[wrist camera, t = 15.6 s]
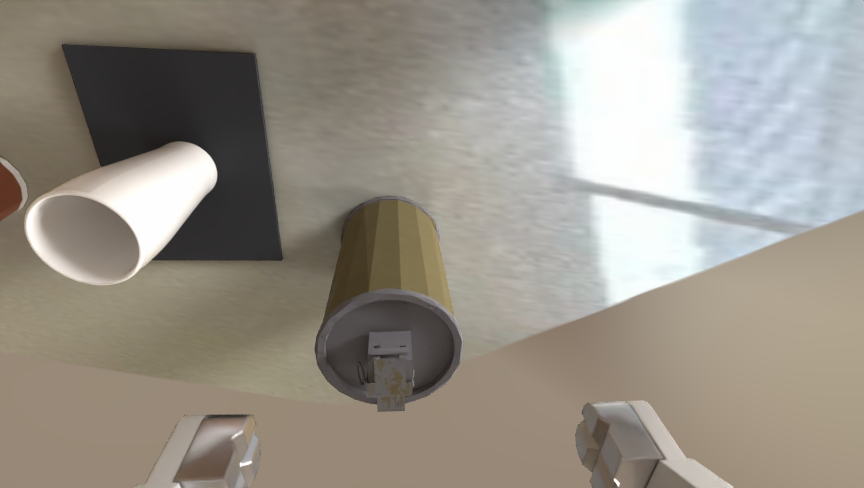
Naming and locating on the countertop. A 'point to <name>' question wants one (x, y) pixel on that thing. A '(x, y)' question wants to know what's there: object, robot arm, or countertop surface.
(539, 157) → the countertop surface
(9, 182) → the coffee cup
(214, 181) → the white tapered cylinder
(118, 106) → the place mat
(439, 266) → the canister
